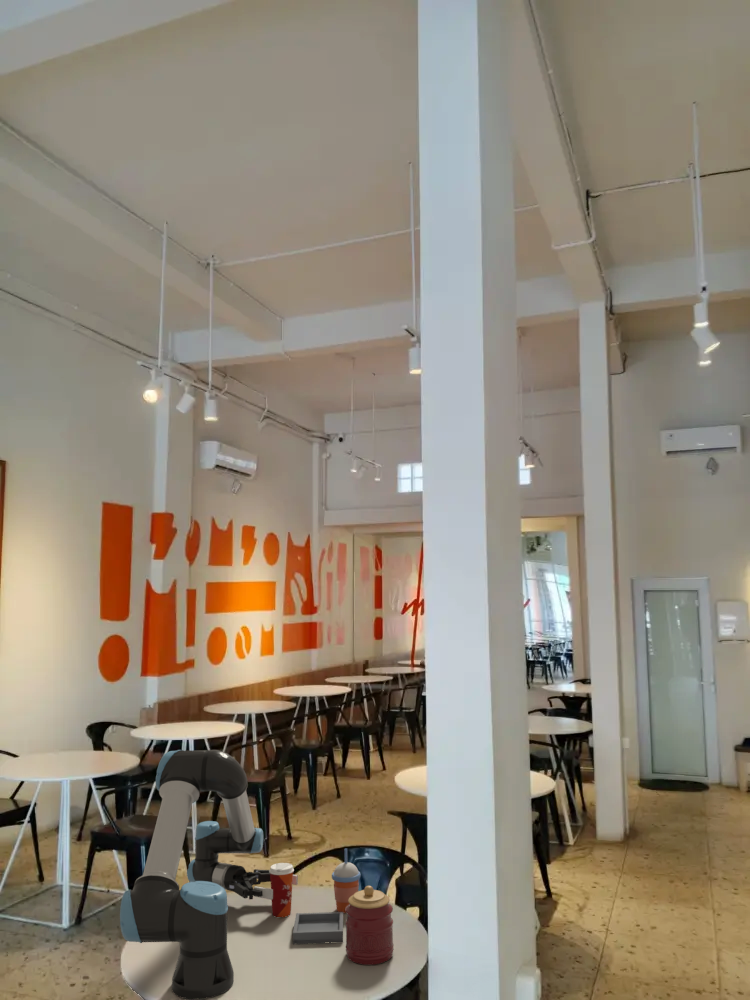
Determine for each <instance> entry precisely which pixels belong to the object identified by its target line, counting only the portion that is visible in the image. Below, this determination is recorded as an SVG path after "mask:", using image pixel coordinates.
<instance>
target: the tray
mask: <svg viewBox="0 0 750 1000" xmlns="http://www.w3.org/2000/svg"><path fill="white" fill-rule="evenodd" d="M292 931H293V932H292V945H309V944H308V943H312V944H313V943H316V944H326V943H325V942H329V943H328V944H332V943H331V942H343V943H344V913H343V912H338V911H328V912H327V911H326V912H297V913H295V918H294V924H293V930H292ZM312 944H311V945H312ZM313 945H314V944H313Z"/></svg>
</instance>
